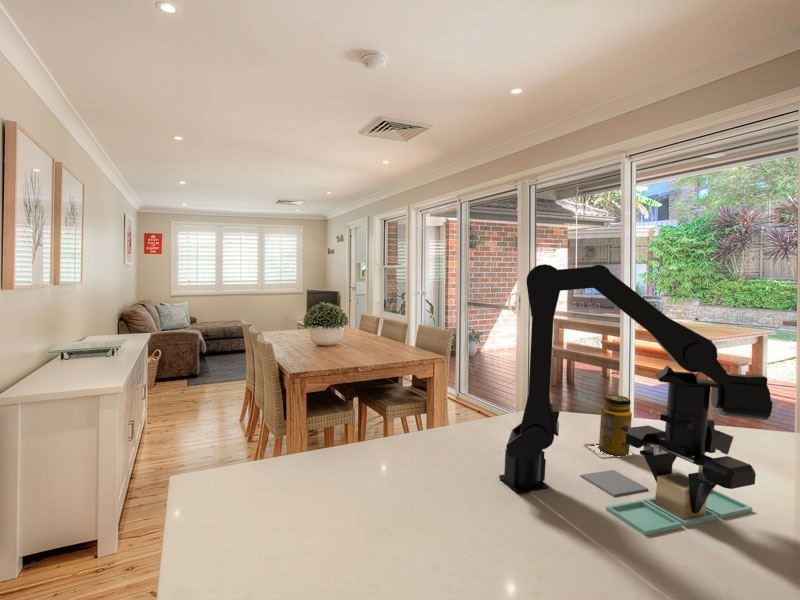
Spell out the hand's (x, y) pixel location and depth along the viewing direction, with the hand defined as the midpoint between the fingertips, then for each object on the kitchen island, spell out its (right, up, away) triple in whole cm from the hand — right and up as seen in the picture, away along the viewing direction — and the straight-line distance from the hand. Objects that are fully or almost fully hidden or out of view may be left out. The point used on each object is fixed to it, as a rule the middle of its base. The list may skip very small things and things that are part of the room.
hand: (680, 504), depth 76 cm
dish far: (+7, -1, +3) cm, 8 cm away
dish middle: (0, -1, 0) cm, 1 cm away
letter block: (0, -1, 0) cm, 1 cm away
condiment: (0, 0, +26) cm, 26 cm away
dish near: (-8, -1, -3) cm, 8 cm away
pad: (-7, 0, +9) cm, 11 cm away
